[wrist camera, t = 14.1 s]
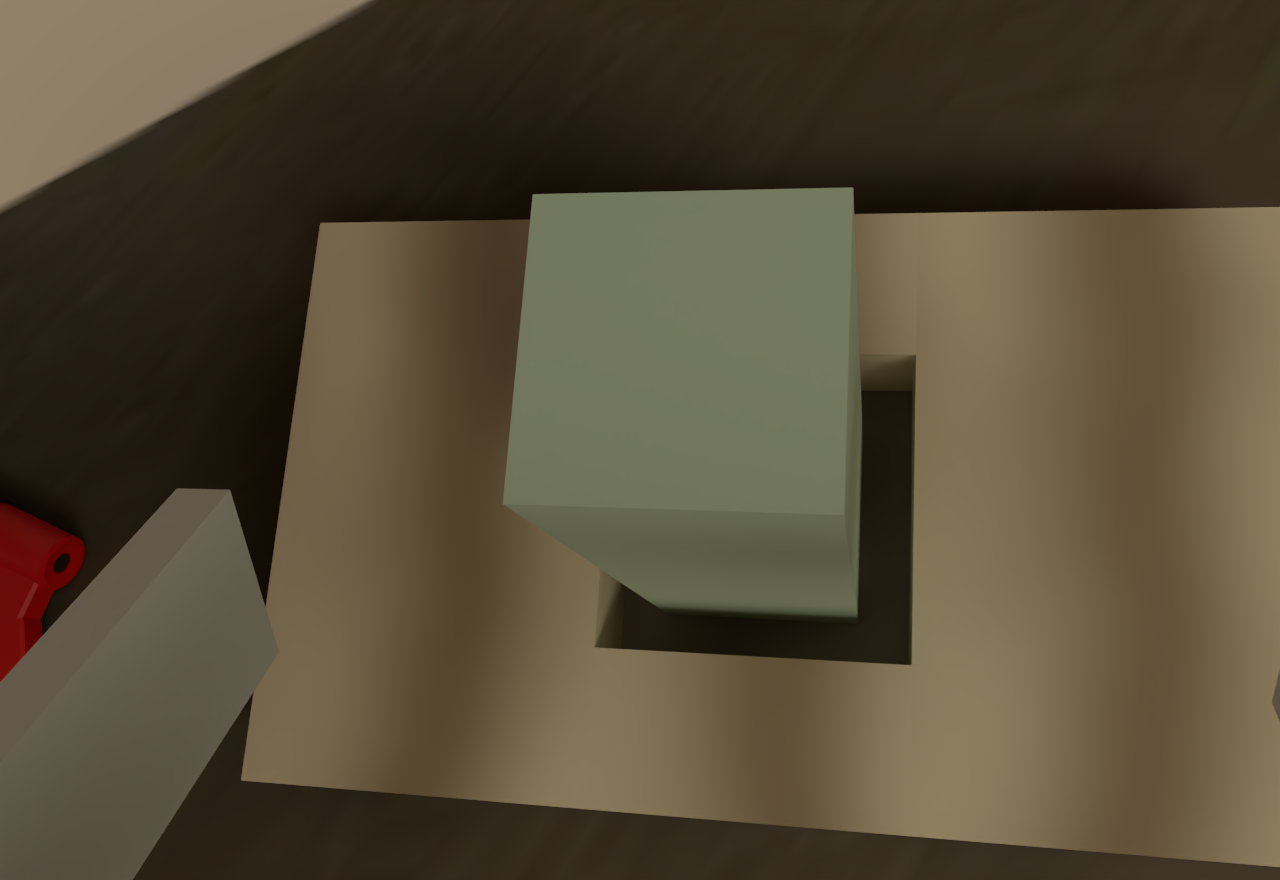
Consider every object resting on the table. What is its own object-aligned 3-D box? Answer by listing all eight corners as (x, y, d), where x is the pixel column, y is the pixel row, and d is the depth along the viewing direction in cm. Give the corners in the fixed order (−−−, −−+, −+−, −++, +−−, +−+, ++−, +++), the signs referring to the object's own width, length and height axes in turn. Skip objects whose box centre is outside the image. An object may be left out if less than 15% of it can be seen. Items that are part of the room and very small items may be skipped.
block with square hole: (308, 777, 27) (240, 780, 24) (373, 273, 30) (319, 223, 27) (1281, 856, 23) (1340, 871, 20) (1248, 267, 26) (1295, 207, 23)
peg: (668, 613, 26) (502, 504, 14) (679, 433, 27) (532, 193, 15) (858, 623, 25) (844, 515, 13) (862, 436, 26) (853, 187, 14)
